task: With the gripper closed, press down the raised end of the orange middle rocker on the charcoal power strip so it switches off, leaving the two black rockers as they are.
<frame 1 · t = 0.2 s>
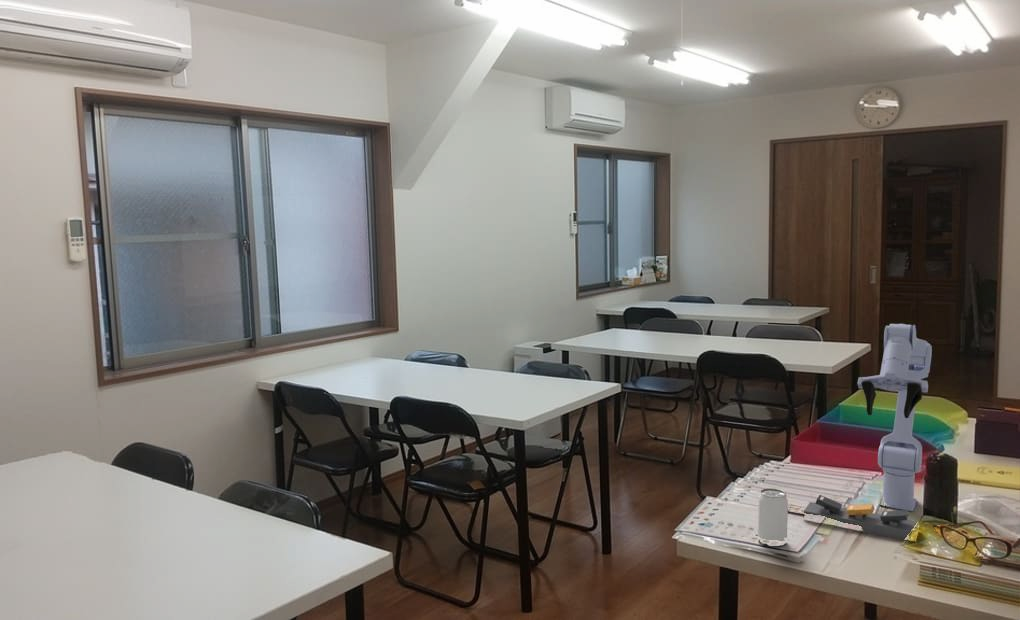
hand: (887, 414, 170), 31 cm above the table, tool tilted 45°, fingers open, 7 cm apart
black rocker 2: (894, 516, 179), point 4 cm above the table, hinge at 15.0°
can: (772, 542, 176), on the table
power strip: (860, 526, 183), on the table
orange rocker: (860, 510, 183), point 4 cm above the table, hinge at 15.0°
black rocker 1: (828, 504, 187), point 4 cm above the table, hinge at -15.0°
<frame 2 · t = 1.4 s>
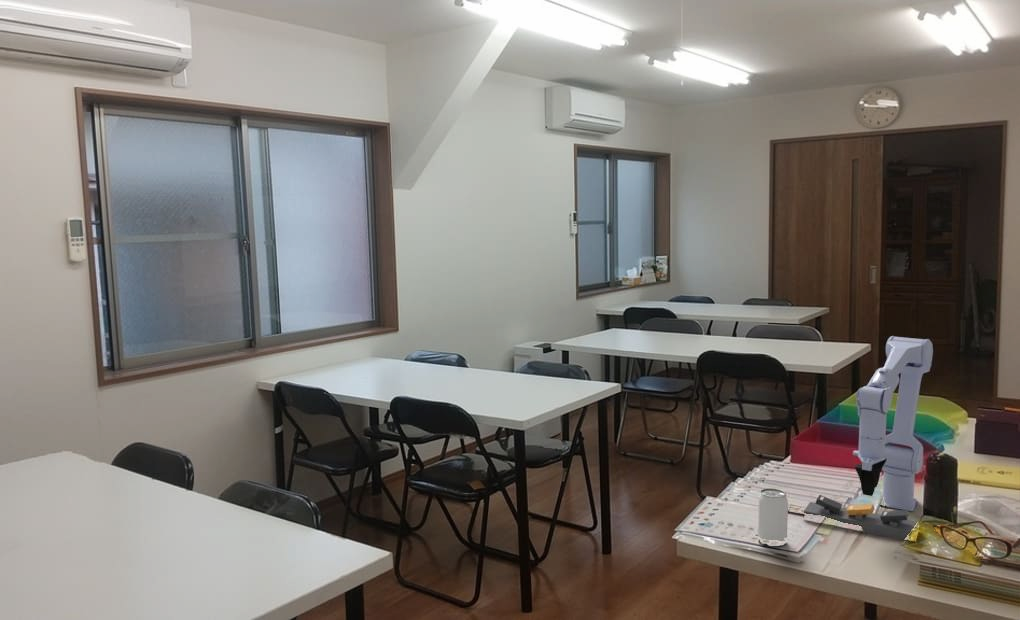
hand: (869, 490, 181), 9 cm above the table, tool pointing down, fingers open, 6 cm apart
nothing on the table moved.
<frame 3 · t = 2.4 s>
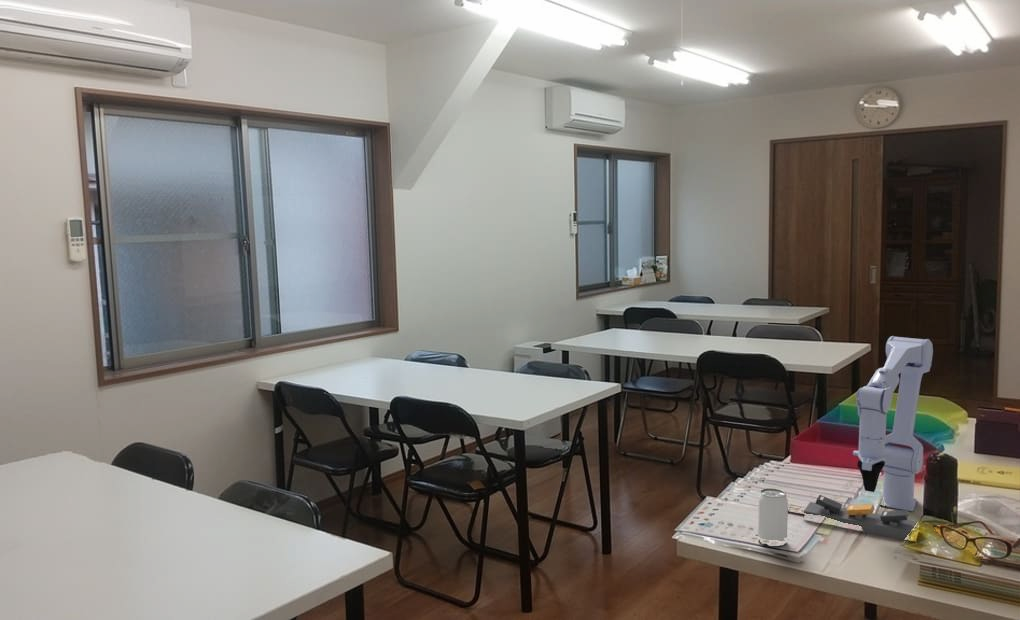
hand: (869, 490, 181), 9 cm above the table, tool pointing down, fingers closed
nothing on the table moved.
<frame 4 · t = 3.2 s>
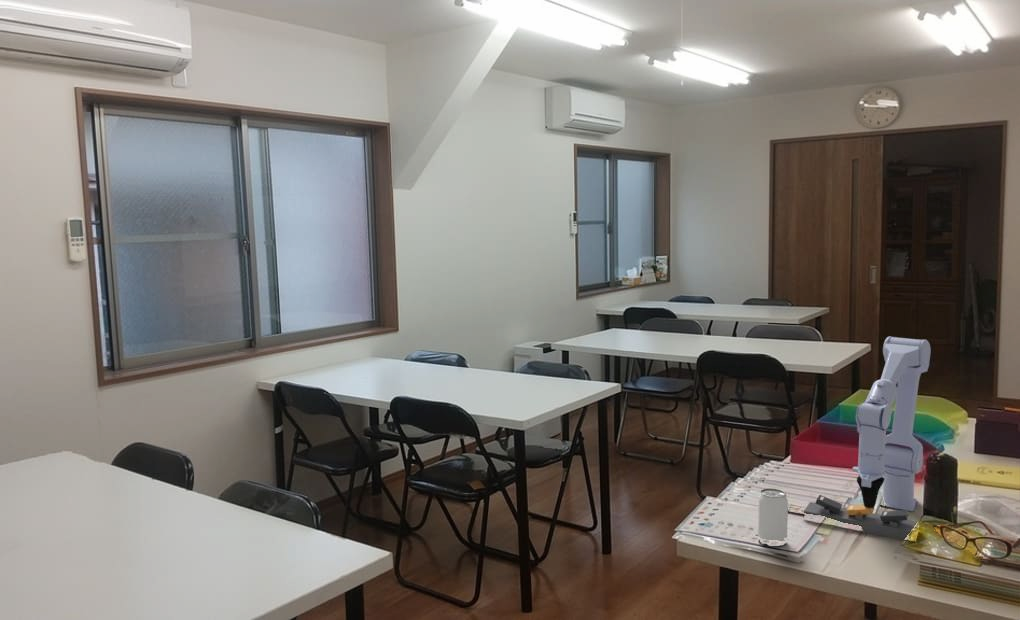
hand: (869, 506, 182), 5 cm above the table, tool pointing down, fingers closed, pressing on orange rocker
orange rocker: (860, 510, 183), point 4 cm above the table, hinge at 15.0°, touching gripper
everything else where it was.
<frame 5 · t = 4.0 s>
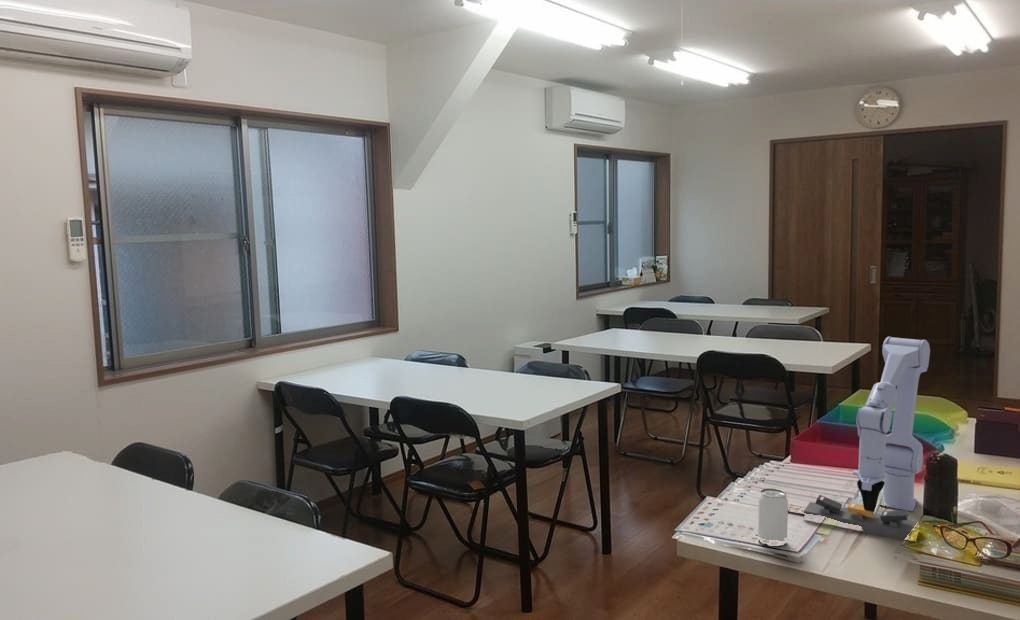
hand: (869, 510, 182), 5 cm above the table, tool pointing down, fingers closed, pressing on orange rocker
orange rocker: (861, 510, 183), point 4 cm above the table, hinge at -2.6°, touching gripper
everything else where it was.
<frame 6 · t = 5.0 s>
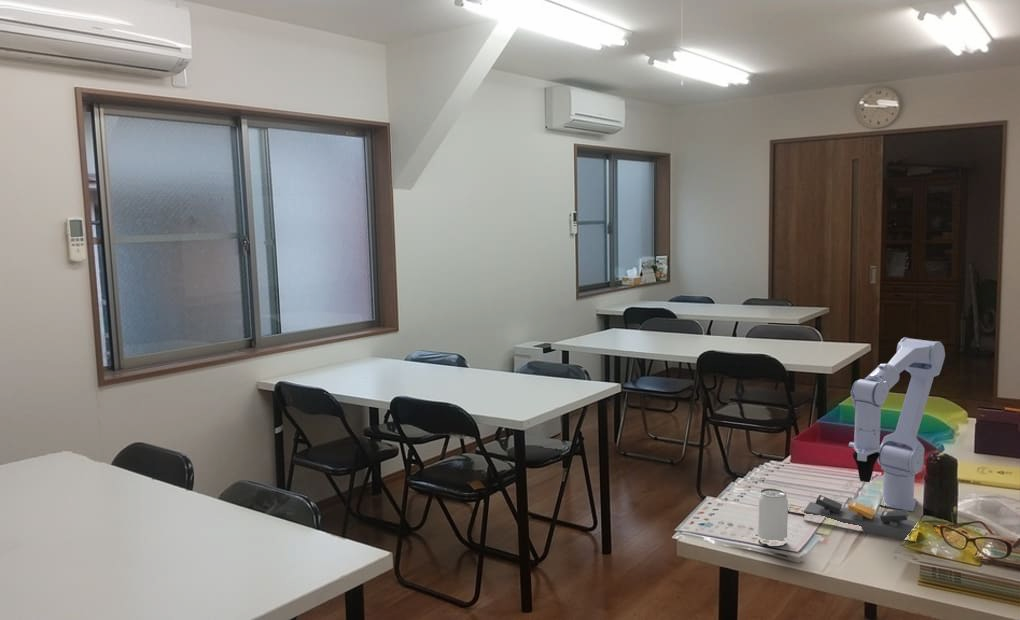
hand: (865, 481, 186), 10 cm above the table, tool pointing down, fingers closed
orange rocker: (861, 510, 183), point 4 cm above the table, hinge at -13.7°
everything else where it was.
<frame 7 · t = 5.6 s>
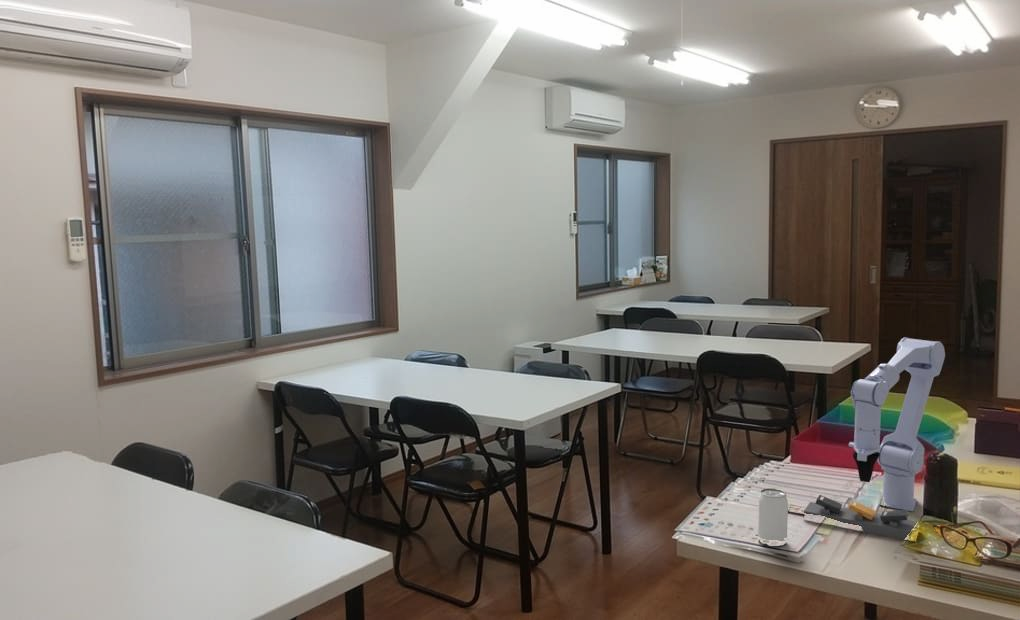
hand: (865, 481, 186), 10 cm above the table, tool pointing down, fingers closed
orange rocker: (861, 510, 183), point 4 cm above the table, hinge at -18.2°
everything else where it was.
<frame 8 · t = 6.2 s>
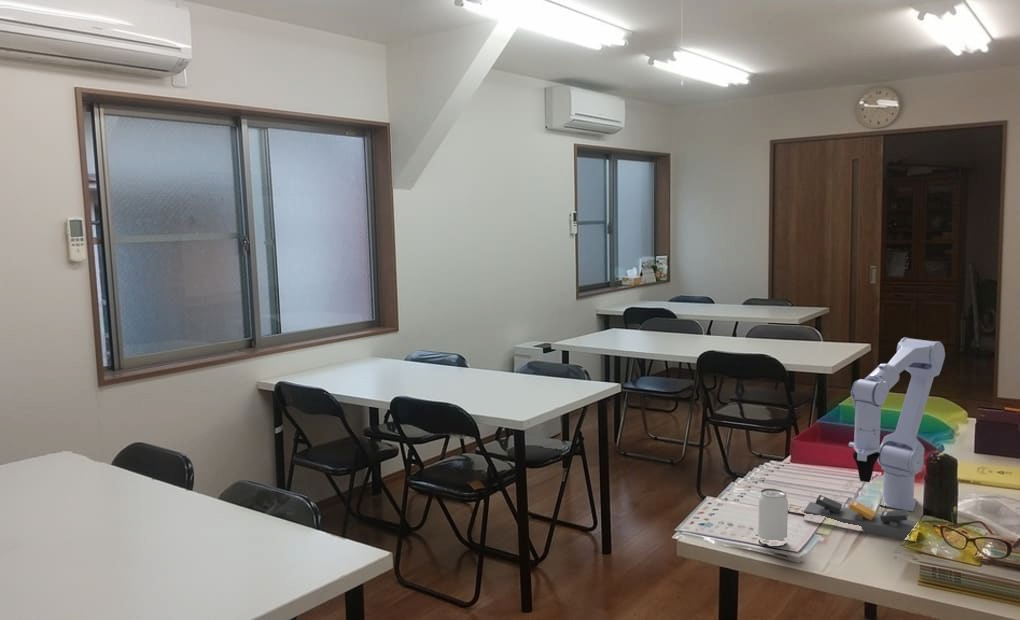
hand: (865, 481, 186), 10 cm above the table, tool pointing down, fingers closed
orange rocker: (861, 510, 183), point 4 cm above the table, hinge at -21.8°
everything else where it was.
at the end: orange rocker at -23° (first picture: +15°); black rocker 1 at -15° (first picture: -15°); black rocker 2 at +15° (first picture: +15°) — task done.
